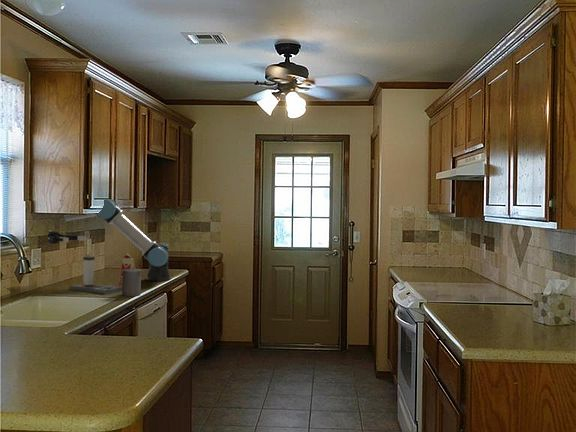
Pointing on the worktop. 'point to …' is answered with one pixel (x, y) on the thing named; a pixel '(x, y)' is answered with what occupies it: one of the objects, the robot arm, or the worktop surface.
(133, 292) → the pillar candle
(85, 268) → the white bottle
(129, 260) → the milk carton
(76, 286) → the console
